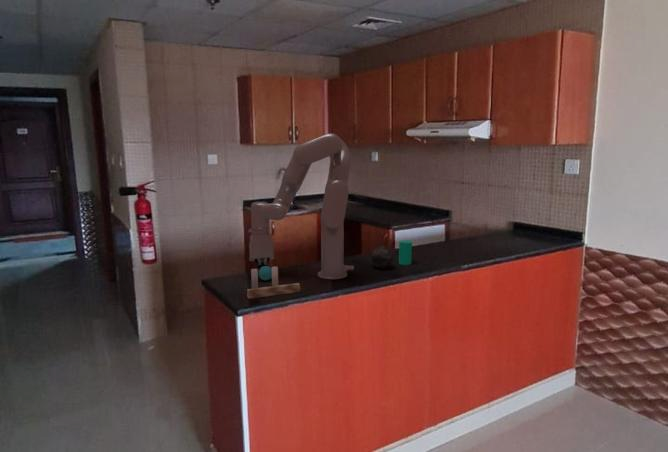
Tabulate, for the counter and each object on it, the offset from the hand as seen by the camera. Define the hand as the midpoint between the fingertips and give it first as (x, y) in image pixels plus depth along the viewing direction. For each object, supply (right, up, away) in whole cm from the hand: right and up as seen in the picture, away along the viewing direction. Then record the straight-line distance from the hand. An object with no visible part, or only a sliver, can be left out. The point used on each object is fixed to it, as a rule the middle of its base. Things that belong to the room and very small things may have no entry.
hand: (262, 273), depth 199 cm
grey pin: (+1, -5, -22) cm, 22 cm away
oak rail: (+8, -6, -24) cm, 26 cm away
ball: (+2, +1, -6) cm, 7 cm away
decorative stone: (+53, +1, +13) cm, 55 cm away
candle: (+65, +2, +21) cm, 68 cm away
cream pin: (+8, -5, -18) cm, 21 cm away
